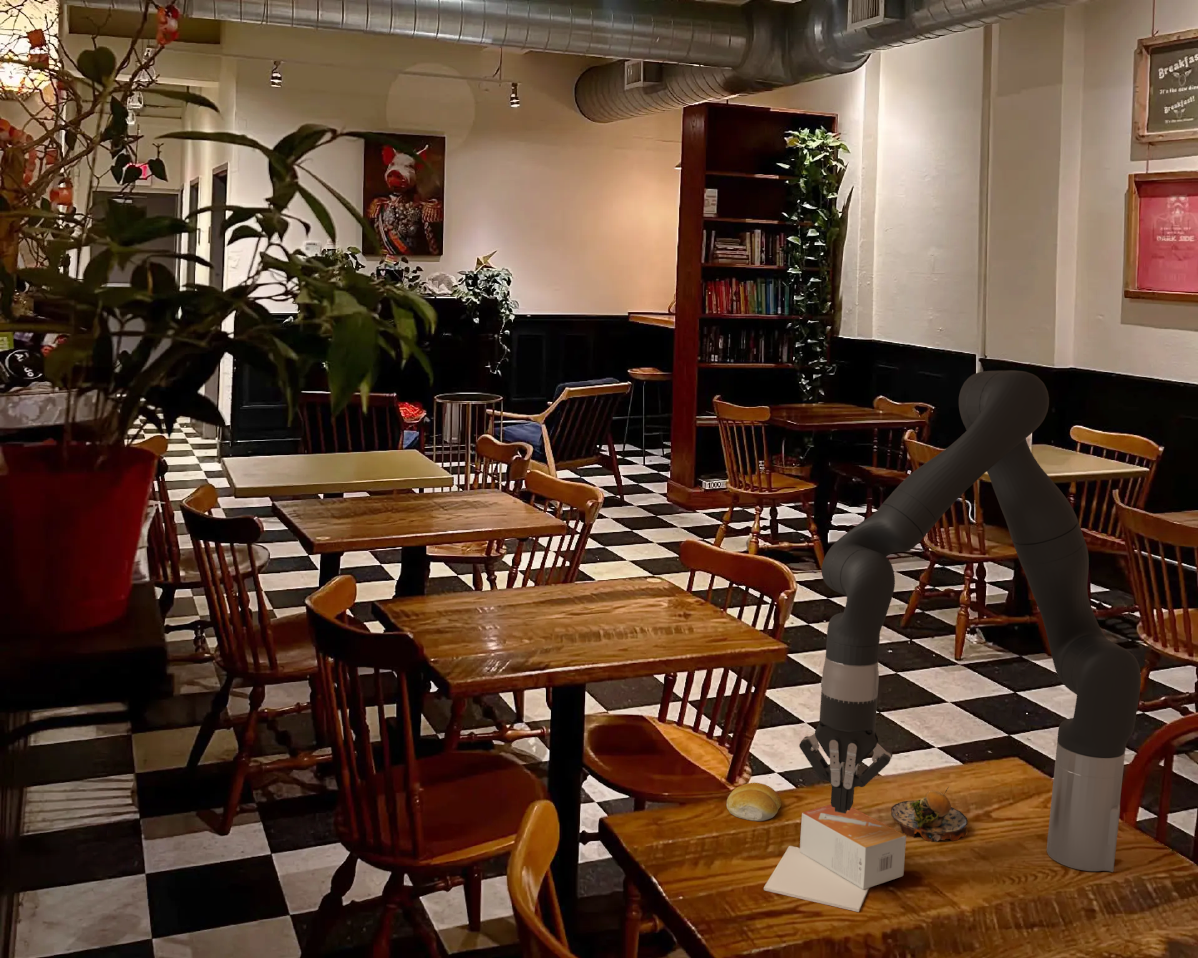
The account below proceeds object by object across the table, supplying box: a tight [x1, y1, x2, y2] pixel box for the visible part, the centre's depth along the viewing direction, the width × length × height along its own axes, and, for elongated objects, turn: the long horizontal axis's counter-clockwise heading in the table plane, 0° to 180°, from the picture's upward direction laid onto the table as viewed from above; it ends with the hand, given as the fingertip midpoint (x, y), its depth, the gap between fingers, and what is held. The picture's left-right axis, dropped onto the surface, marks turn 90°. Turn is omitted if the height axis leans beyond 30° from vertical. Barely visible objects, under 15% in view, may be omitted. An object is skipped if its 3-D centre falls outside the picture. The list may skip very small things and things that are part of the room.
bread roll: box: [726, 782, 782, 822], centre depth 189 cm, size 8×9×4 cm
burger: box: [890, 787, 968, 843], centre depth 185 cm, size 12×12×8 cm
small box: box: [799, 804, 907, 889], centre depth 170 cm, size 8×6×13 cm
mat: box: [763, 845, 870, 913], centre depth 167 cm, size 13×14×1 cm
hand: (841, 810), depth 165 cm, fingers closed
